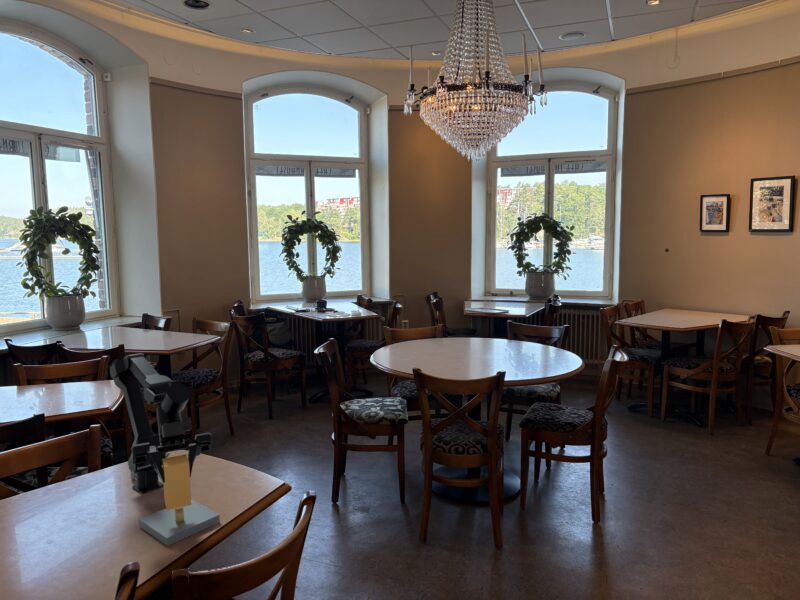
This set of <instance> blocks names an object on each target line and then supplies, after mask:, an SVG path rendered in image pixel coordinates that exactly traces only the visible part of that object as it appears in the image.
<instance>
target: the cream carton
mask: <svg viewBox="0 0 800 600" xmlns="http://www.w3.org/2000/svg"><path fill="white" fill-rule="evenodd" d="M162 464H163V465H162V468H163V472H164V478H165V483H163V484H164V486H163V493H164V494H163V495H164V504H165V508H166V509H167V510H171V509H176V508H180V507H184V506H189V505H191V499H192V491H191V490H192V489H191V478H190V469H189V461H188V454H181V455H176V456H171V457H165V458H163V459H162Z"/></svg>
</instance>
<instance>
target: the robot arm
mask: <svg viewBox="0 0 800 600" xmlns="http://www.w3.org/2000/svg"><path fill="white" fill-rule="evenodd" d="M109 374H110V377H111V378H112V379H113V382H114V384H115V386H116V387H117V388H118V389H119V390H121V391H122V392H123V396H124V400H125V404H126V408H127V412H128V416H129V419H130V423H131V428H132V431H133V436H134V439H133V440H134V441H133V443H132V446H131V448H130V451H131V454H130V455H129V458H128V461H127V466H128V469H129V471H130V470H131V471H132V472H134V473H136V476H137V477H136V484H132V487H131V488H132V489H134V490H135V491H136V492H138V493H140V494H146V493H149V492H151V491H154V490H157V489H159V488H162V487H164V483H165V478H164V472H163V464H162V459H163V458H166V457H165V455H166V452H169V453H170V452H171V453H172V452H176V451H181V450H183V451H184V450H188V452H187V458H188V461H189V469H190V479H191V477H192V473H193V472H192V471H193V467H194V463H195V460H196V457H199V456H200V455H201V453H204V452H209V451H211V450H212V447H213V443H214V438H213V435H212V433H210V432H203V433H197V434H195V435H194V439H192V440H186V432H188V431H191V430H192V429H193V426H192V425H193V424H192V418H191V416H190V417H189V416H188V417H183V418H182V415H181V414H182V413H181V412H182V411H183V410H184V409H185V407H186V406H187V403H188V402H189V399H190V397H191V396H192V395H191V389H190V388H189V387H188V386H186V385H184V384H182V383H179V380H178V379H176V380H172V379H171V378H169V377H168V376H167V375H161V374H160V373H158V371H157V370H156V369H155V368H154V367H153V366H152V365H151V363H150V362H148V360H147V358H146V355H145V353H133V354H128V355H126V356H124V357H123V358H122V359H119V360H118V361H115V362H113V363H112V365H111V366H110V367H109ZM141 385H142V387H143V393H142V390H141ZM145 402H147V403H148V404H149V405H155V404H156V405H157V404H158V405H157V407H156V409H155V411H156V418H157V428H158V434H156V433H154V432H153V431H152V427H151V423H150V420H149V415H148V412H147V408H146V404H145ZM131 471H130V472H131ZM159 478H160V480H161V481H159Z"/></svg>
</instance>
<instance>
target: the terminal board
mask: <svg viewBox="0 0 800 600" xmlns="http://www.w3.org/2000/svg"><path fill="white" fill-rule="evenodd" d="M220 522H221V519H220V514H219V513H218V512H216V511H214V510H212V509H210V508H209V507H206V506H205V505H203V504H201V503H199V502H197V500H194V499H193V498H191V505H189V506H184V507H180V508H176V509H171V510H167V509H166V507H165V508H163V509H161V510H158V511H156V512H154V513H151V514H148V515H145V516H143V517H140V518H139V519H138V525H139V528H141V529H142V530H143V531H145V532H147V534H149V535H151V536H152V537H153V538H155V539H157V540H158V541H159V542H161V543H163V544H164V545H166V547H168V546H171V545H173V544H175V543H177V542H179V541H181V540H184V539H186V538H188V537H190V536H192V535H195V534H197V533H198V532H201V531H203V530H205V529H208V528H210V527H212V526H215V525H216V524H218V523H220Z"/></svg>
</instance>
